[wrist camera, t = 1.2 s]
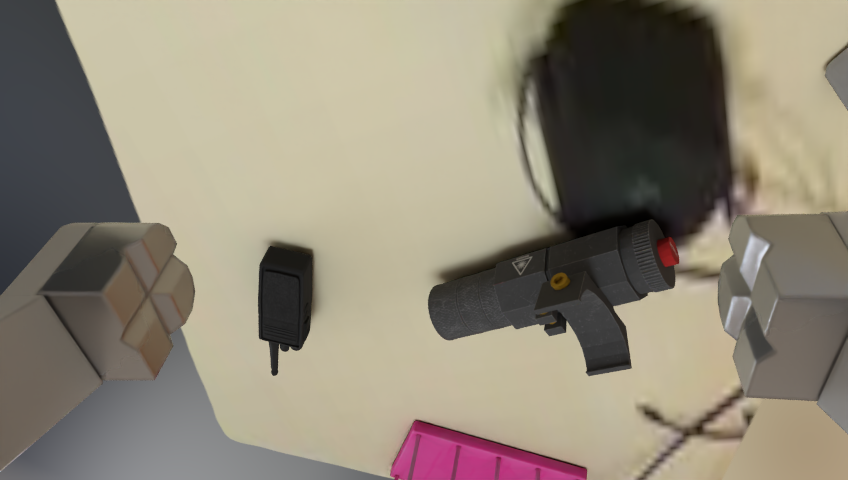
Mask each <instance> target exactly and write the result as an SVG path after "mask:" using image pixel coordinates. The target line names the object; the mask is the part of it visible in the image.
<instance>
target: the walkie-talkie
mask: <svg viewBox="0 0 848 480" xmlns="http://www.w3.org/2000/svg"><path fill="white" fill-rule="evenodd" d="M311 301H312V257H311V256H310V255H307V254H303V253H299V252H294V251H290V250H286V249H282V248H277V247H273V246H270V247H269V248H268V250H267V252H266V254H265V255H264V257H263V259H262V261H261V263H260V269H259V292H258V314H259V339H262V340H265V341H269V347H270V357H271V369H272V371H271V373H272V375H273V376H275V375H277V373H278V349H279V344H280V348H281V350H282V351H284V352H286V351H288V350H289V346H290V347H291V348H292V349H293V350H295V351H297V350H300V349H301V348H302V346H303V344H304V342H305V340H306V338H307V336H308V334H309V331H310V323H311Z"/></svg>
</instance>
